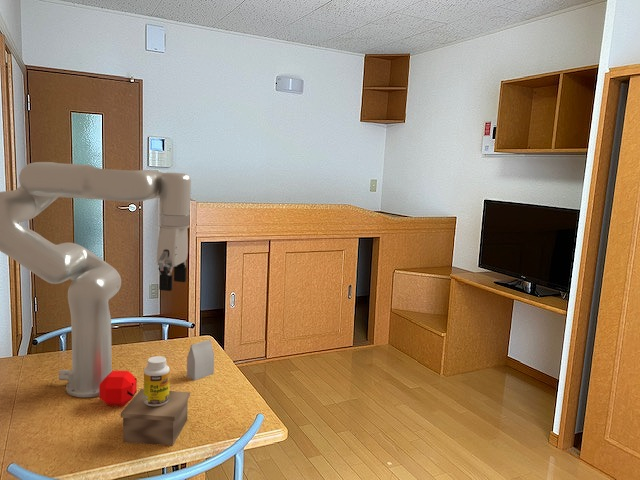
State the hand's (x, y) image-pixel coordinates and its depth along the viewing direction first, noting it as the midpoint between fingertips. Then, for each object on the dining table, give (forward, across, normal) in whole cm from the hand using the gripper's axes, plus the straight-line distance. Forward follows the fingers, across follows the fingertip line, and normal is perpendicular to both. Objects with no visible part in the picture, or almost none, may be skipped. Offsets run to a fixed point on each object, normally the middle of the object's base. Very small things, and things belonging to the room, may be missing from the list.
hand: (173, 285), depth 132 cm
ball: (+29, +10, -10) cm, 32 cm away
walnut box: (+29, +21, +5) cm, 36 cm away
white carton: (+29, -10, +5) cm, 31 cm away
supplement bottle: (+22, +20, +5) cm, 31 cm away
